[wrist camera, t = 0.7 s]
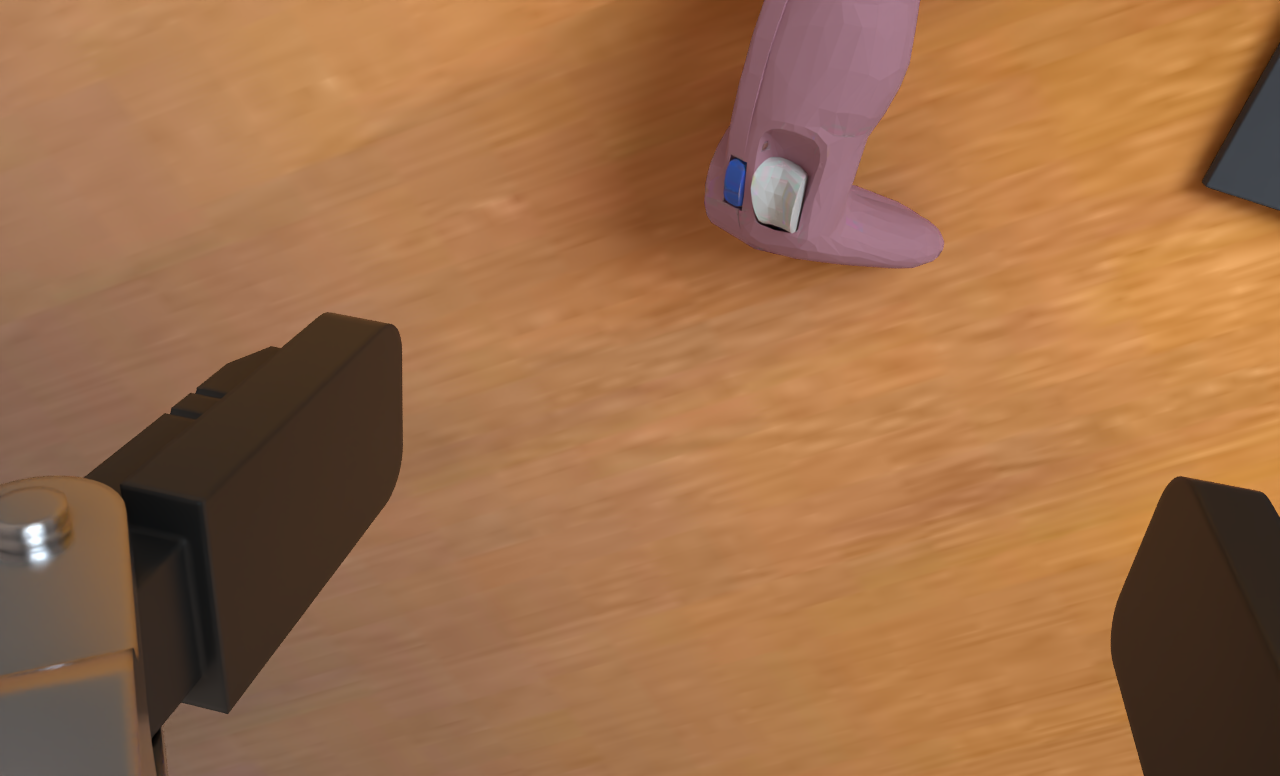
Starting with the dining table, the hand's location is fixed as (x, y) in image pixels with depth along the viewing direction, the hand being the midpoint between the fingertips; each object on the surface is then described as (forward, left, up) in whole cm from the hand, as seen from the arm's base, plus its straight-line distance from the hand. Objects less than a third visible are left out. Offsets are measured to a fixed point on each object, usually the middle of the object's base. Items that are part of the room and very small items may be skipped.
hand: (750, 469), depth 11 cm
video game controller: (-2, +1, -17) cm, 17 cm away
